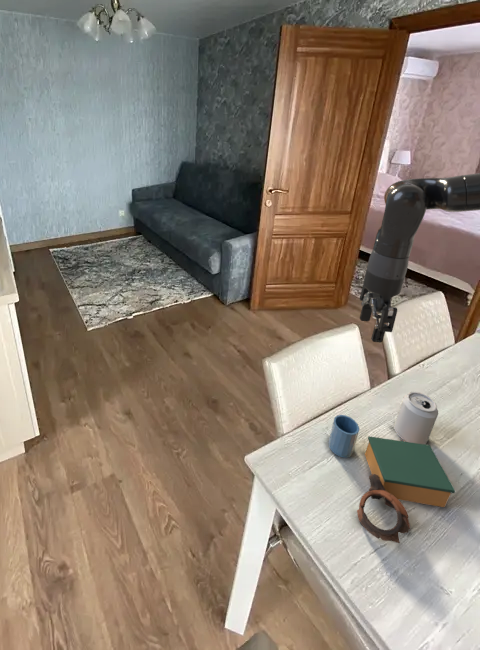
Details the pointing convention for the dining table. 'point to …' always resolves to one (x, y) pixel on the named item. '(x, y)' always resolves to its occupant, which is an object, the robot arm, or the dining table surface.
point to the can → (416, 418)
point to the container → (409, 471)
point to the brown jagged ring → (390, 500)
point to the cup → (343, 436)
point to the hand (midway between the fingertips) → (370, 330)
